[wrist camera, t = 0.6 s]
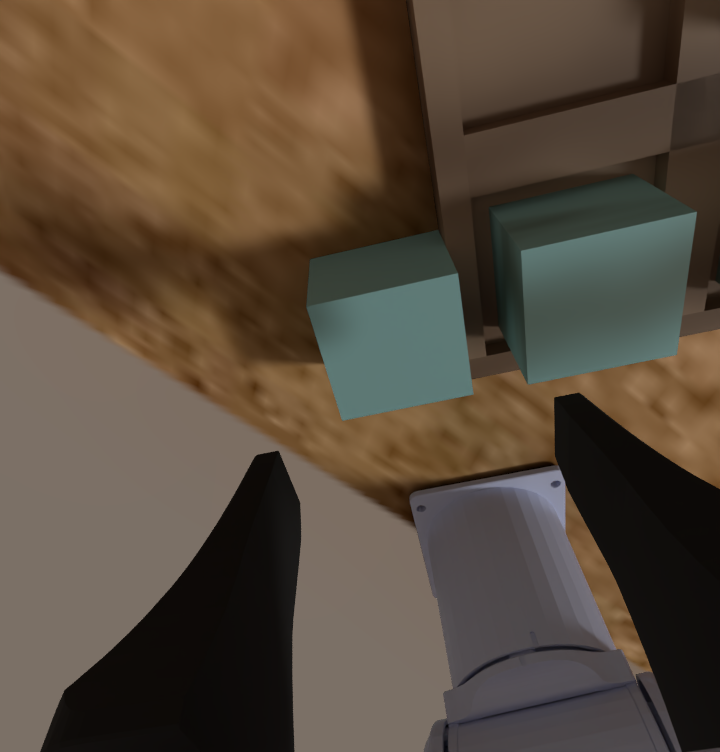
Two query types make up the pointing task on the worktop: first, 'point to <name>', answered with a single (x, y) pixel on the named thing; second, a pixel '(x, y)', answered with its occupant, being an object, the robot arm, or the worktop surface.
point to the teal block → (390, 325)
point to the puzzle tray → (574, 175)
